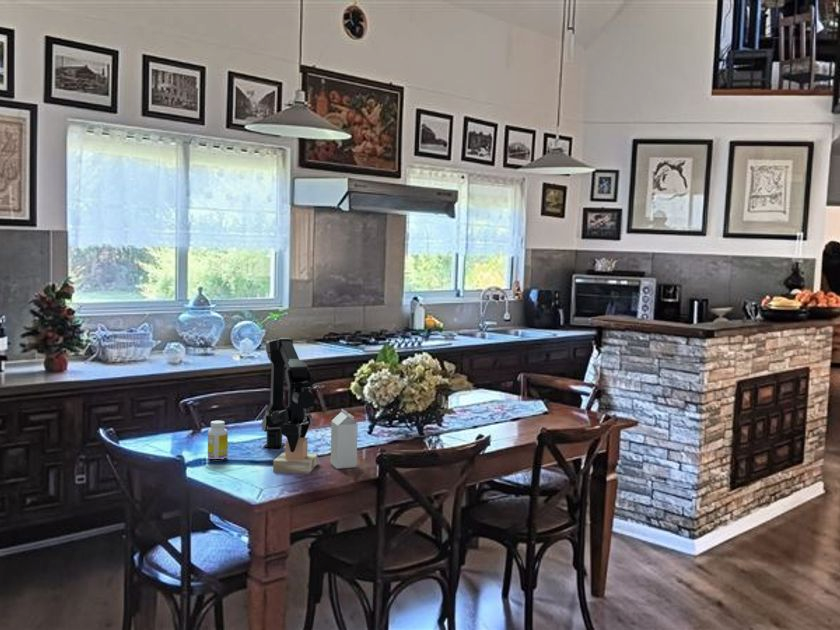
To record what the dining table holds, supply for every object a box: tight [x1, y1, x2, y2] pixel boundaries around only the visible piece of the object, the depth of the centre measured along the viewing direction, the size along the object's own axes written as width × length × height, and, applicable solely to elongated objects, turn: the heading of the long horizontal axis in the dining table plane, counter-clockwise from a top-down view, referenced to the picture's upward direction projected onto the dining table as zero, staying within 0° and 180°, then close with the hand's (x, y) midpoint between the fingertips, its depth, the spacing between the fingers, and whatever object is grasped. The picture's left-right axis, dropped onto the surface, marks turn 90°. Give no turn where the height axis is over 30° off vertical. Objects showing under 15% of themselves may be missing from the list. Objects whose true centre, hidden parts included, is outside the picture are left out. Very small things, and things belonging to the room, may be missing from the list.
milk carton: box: [330, 408, 359, 469], centre depth 277 cm, size 7×7×19 cm
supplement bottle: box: [207, 420, 229, 460], centre depth 281 cm, size 7×7×13 cm
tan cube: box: [284, 437, 309, 460], centre depth 273 cm, size 6×6×6 cm
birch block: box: [272, 451, 319, 475], centre depth 274 cm, size 12×12×4 cm
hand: (296, 448), depth 273 cm, fingers open, 9 cm apart
